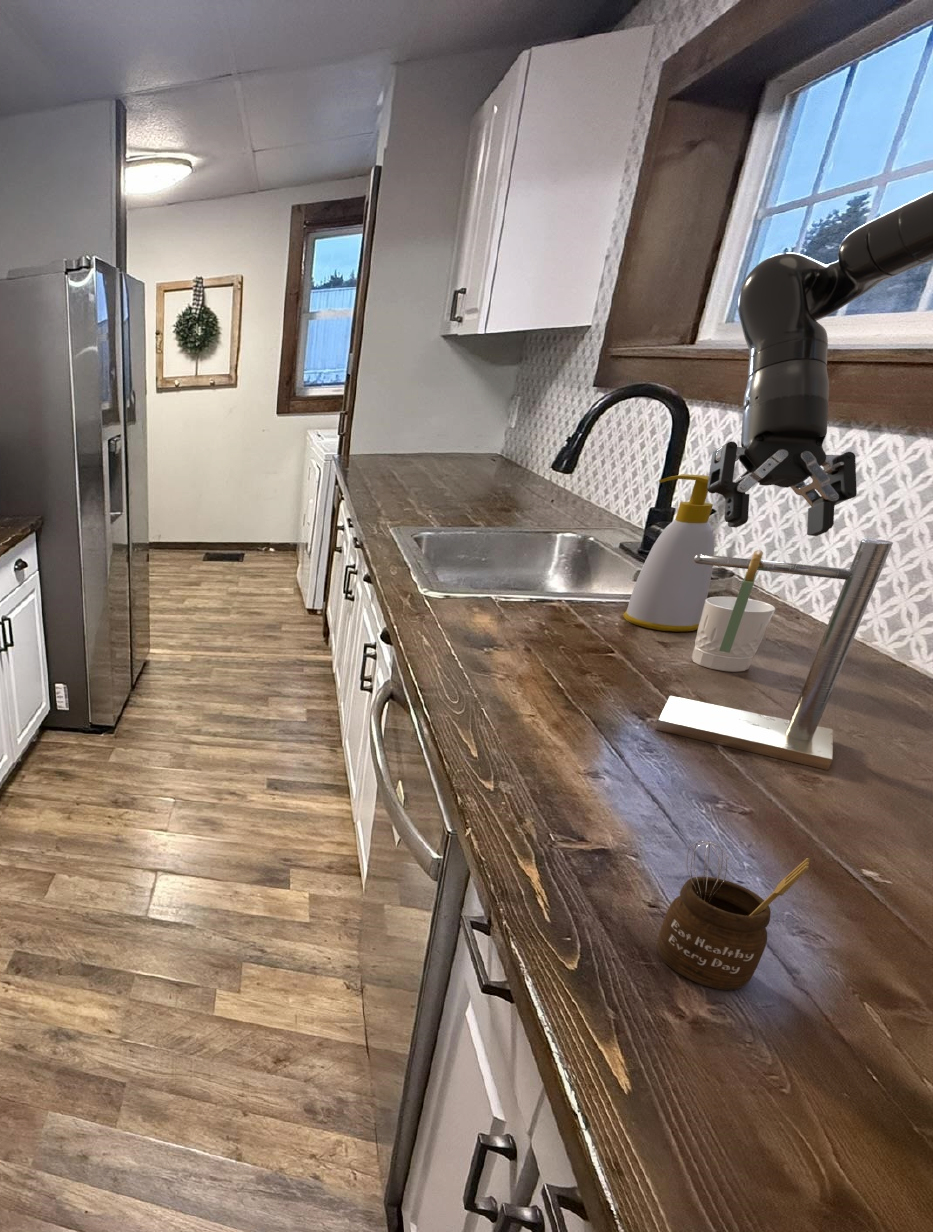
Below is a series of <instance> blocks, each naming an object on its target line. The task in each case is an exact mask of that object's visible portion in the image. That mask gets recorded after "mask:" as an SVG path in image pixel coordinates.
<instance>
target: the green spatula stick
mask: <svg viewBox="0 0 933 1232" xmlns="http://www.w3.org/2000/svg"><path fill="white" fill-rule="evenodd" d="M763 555H764V552H763V551H762V550H761V549H757V550H755V551H754V552H753V554H752V557H751V558H750V559H751V562H750V565H749V567H748V569H746V570H747V571H746V572H745V575H744V577H743V580H742V582H741V585H740V587H739V590H738V593H737V596H736V597H737V599H736V602H735V605H734V608H733V611H732V614H731V617H730V620H729V623H728V626H727V629H726V632H725V635H724V638H723V641H722V644H721V646H720V649H719V651H722V652H728V653H730V651H731V648H732V645H733V642H734V639H735V636H736V634H737V631H738V628H739V625H740V622H741V619H742V616H743V613H744V610H745V607H746V605H747V602H748V599H750V595H751V593H752V590H753V588H754V584H755V581H756V578H757V575H758V570H757V569H758V566H759V563H760V560H762V557H763Z"/></svg>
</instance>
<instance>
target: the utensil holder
mask: <svg viewBox="0 0 933 1232" xmlns="http://www.w3.org/2000/svg"><path fill="white" fill-rule="evenodd" d="M700 843H701V844H700ZM698 844H700V845H698ZM694 845H695V846H694ZM704 845H706V847H705V854H704V861H706V859H708V860H707V868H709V867H710V855H708V857H707V850H708V853H710V852H711V851H710V849H711V847H712V848H713V849H714V851H715V852H716V855H717V858H718V877H712V876H709V869H707V872H706V862H704V864H703V865H704V866H703V876H697V871H696V863H695V861H696V850H697V849H698V848H700V847H701V846H704ZM693 846H694V851H693V852H692V854H691V861H690V868H692V865H693V868H694V874H695V877H693V875H692V872H690V873H689V867H688V864H686V870H687V874H688V876H689V877H688V878H689V879H687V880H686V881H685V882H684V884H683V885H682V886H681V889H680V891H679V895H678V896H677V897H676V898H674V899H673V900H672V901H671V903H670V905H669V906H668V908H667V910H666V914H665V916H664V919H663V922H662V924H661V926H660V927H661V928H660V930H659V933H658V936H657V940H656V950H657V954H658V955H659V957H660V958H661V960H662V961H663V962H664V963H665V964H666V965H667V966H668V968H670V969H671V970H673V971H674V972H676V973H677V974H679V975H680V976H682V977H684V978H686V979H688V980H690V981H692V982H694V983H696V984H699V985H702V986H705V987H708V988H712V989H716V990H726V991H731V990H739V989H741V988H743V987H745V986H746V985H747V984H749V982H750V981H751V979H752V978H753V976H754V974H755V972H756V970H757V968H758V966H759V963H760V961H761V959H762V956H763V954H764V951H765V949H766V946H767V942H768V931H767V928H768V926H769V924H770V921H771V913H772V912H771V908H770V904H772V903H773V902H774V901H775V900H776V899H777V898H778V897H779V896H781V897H782V896H784V895H785V893H787V891H788V890H789V889H791V887H792V886H793V885H794V884H795V883H796V882H797V881H798V880H799V879H800V878H801V877H802V876H803V875H804V874H805V873H806V872H807V870H809V865H810V858H809V857H806V858H805V859H804V860H803V861H802V862H801V863H800V864H799V865H797V866H796V867H795V868H794V869H793V870H791V872H790V873H788V874H787V875H786V876H785V877H784V878H783V879H782V880H781V881H780V882H778V884H777V886H776V887H775V889H774V891H773V892H771V893H770V894H769V896H768V897H767V898H765V900H764V899H763V898H762V897H761V896H759V895H758V894H757V893H755V892H754V891H752V890H750V889H748V888H746V887H745V886H743V885H740V884H738V883H736V882H732V881H730V880H726V877H727V872H728V857H727V854H726V852H725V850H723V849H722V846H720V845H719V844H718V843H717V842H714V843H713V842H711V841H710V840H708V841H705V840H703V841H701V840H698V841H697V842H695V843H693V844H691V845H690V846H689V847H688V850H687V853H686V854H687V855H686V863H689V862H688V861H689V852H690V850H691V848H692V847H693ZM714 846H716V847H717V848H718V849H720V850H721V861H720V855H719V853H718V851H717V849H716V848H715V847H714ZM724 855H725V873H724V874H725V875H724V878H723V879H722V878H720V876H721V873H722V871H723V864H721V863H723V861H724V860H723V859H724V857H723V856H724ZM705 873H706V876H705Z"/></svg>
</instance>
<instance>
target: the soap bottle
mask: <svg viewBox="0 0 933 1232" xmlns="http://www.w3.org/2000/svg"><path fill="white" fill-rule="evenodd" d="M708 479H709V475H704V474H702V475H701V474H678V475H672V476H668V477H665V478H661V479H659V480H658V482H659V484H662V483H665V482H669V481H674V480H689V481H694V484H693V488H692V491H691V494H690V498H689V501H681V502H680V503H679V505H678V510H677V512H676V516H675V519H674V520H672V521H671V522H670V523H669V524H668V525H667V526H666V527H664V529H663V530H662V532H661V533H660V534H659V536H658V537H657V538H656V541H655V542H654V543H653V545H652V546H651V549H650V550H649V553H648V555H647V557H646V559H645V561H644V563H643V565H642V568H641V569H640V572H639V574H638V576H637V578H636V581H635V583H634V587H633V589H632V592H631V595H630V598H629V602H628V605H627V608H626V610H625V612H624V613H623V614H622V616H623V618H624V619H625V621H627V622H629V623H631V624H633V625H636V626H637V627H642V628H646V629H649V630H650V629H651V630H656V631H662V632H675V633H678V632H692V631H698V627H699V623H700V619H701V615H702V612H703V608H704V604H705V600H706V599H707V598H708V595H709V591H710V588H711V587H710V586H711V581H712V573H713V568H714V565H706V564H697V563H695V562H694V557H695V556H696V555H699V554H704V555H714V556H715V538H714V531H713V528H712V526H711V524H710V522H709V519H710V515H711V512H712V509H713V506H714V504H713V503H710V502H706V500H707V497H708V493H709V492H708V490H707V486H708Z"/></svg>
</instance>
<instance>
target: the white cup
mask: <svg viewBox="0 0 933 1232" xmlns="http://www.w3.org/2000/svg"><path fill="white" fill-rule="evenodd" d="M736 599H737V596H725V595H723V596H710V597H707V599H706V600H705V604H704V608H703V612H702V615H701V619H700V623H699V627H698V629H697V630H696V631H697V632H696V637H695V641H694V648H693V651H692V654H691V661H692V662H693V663H695V664H697V665H699V666H701V667H705V668H706V669H707V668H708V669H710V670H716V671H721V672H729V673H730V672H732V673H738V672H746V671H747V670H749V668H750V666H751V665H752V662H753V659H754V656H755V655H756V654H757V652H758V650H759V648H760V644H761V643H762V641H763V639H764V636H765V634H766V632H767V630H768V628H769V625H770V622H771V621H772V618H773V616H774V613H775V611H776V607H775V606H774V605H772V604H770V603H768V602H765V601H761V600H758V599H751V598H749V599H748V602H747V605H746V607H745V610H744V613H743V616H742V619H741V622H740V625H739V628H738V631H737V634H736V636H735V639H734V642H733V645H732V648H731V651H730V653H728V652H722V651H719V649H720V646H721V644H722V641H723V638H724V635H725V632H726V629H727V626H728V623H729V620H730V617H731V614H732V611H733V608H734V605H735V602H736Z"/></svg>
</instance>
